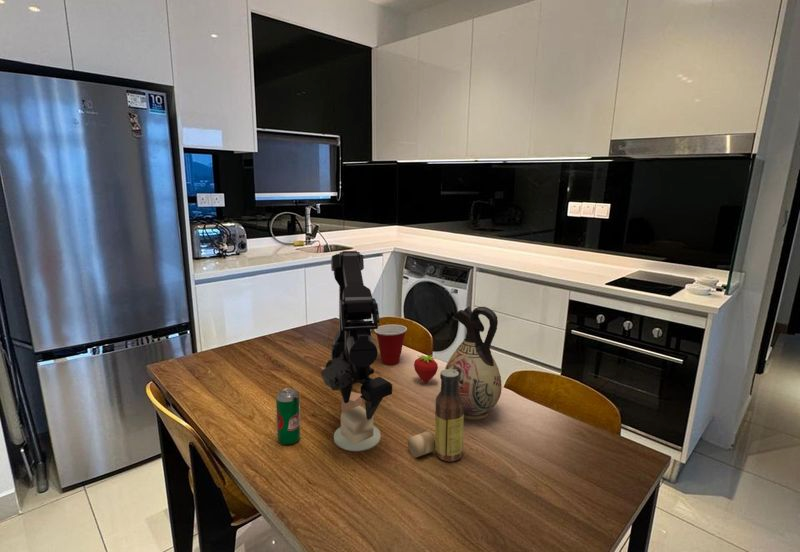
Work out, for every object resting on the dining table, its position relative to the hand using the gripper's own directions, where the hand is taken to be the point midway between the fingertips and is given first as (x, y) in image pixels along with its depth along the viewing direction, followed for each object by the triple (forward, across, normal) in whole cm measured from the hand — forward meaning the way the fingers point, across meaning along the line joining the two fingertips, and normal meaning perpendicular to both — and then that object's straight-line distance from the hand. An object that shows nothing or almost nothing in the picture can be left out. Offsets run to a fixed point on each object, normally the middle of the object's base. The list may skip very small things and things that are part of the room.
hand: (357, 410), depth 99 cm
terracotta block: (+7, -11, +6) cm, 15 cm away
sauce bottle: (+7, +18, +12) cm, 23 cm away
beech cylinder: (+5, +13, +6) cm, 15 cm away
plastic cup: (+7, -28, +33) cm, 44 cm away
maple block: (+6, 0, 0) cm, 7 cm away
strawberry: (+7, -10, +32) cm, 34 cm away
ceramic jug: (+7, +10, +30) cm, 32 cm away
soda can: (+7, -9, -13) cm, 17 cm away
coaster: (+7, 0, 0) cm, 7 cm away
